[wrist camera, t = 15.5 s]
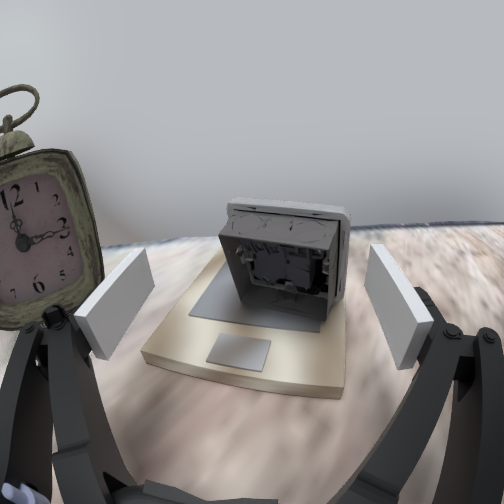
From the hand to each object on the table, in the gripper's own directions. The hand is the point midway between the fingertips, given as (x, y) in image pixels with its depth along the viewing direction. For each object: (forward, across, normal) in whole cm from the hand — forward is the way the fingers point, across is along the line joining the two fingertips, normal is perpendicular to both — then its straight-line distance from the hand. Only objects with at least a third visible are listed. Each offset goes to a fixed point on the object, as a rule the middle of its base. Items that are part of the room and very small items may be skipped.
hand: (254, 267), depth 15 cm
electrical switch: (+5, +2, -7) cm, 9 cm away
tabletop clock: (+2, -21, -9) cm, 23 cm away
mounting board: (+9, 0, -9) cm, 12 cm away
